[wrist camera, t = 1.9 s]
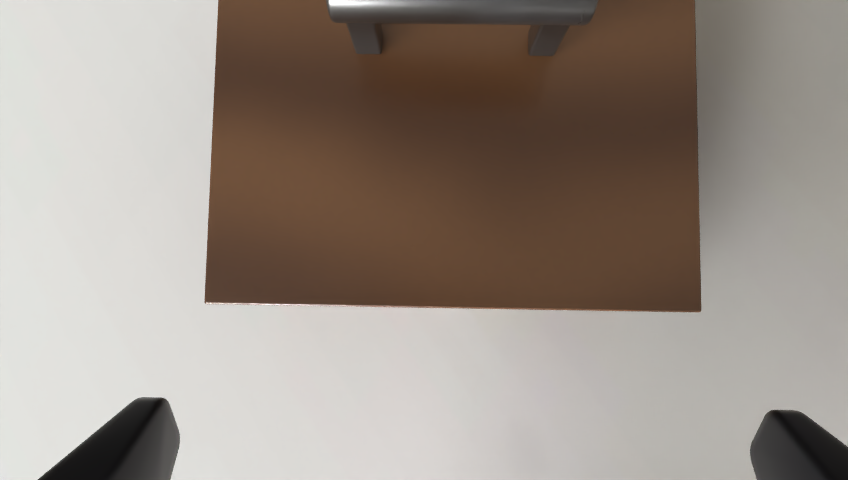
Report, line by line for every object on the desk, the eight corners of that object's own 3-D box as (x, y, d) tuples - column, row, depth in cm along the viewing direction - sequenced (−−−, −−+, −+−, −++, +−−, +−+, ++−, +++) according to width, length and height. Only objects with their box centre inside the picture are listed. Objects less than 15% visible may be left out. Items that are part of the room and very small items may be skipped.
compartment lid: (231, -68, 16) (153, -206, 12) (681, -64, 16) (781, -204, 11) (215, 303, 15) (124, 311, 11) (688, 311, 15) (798, 322, 11)
